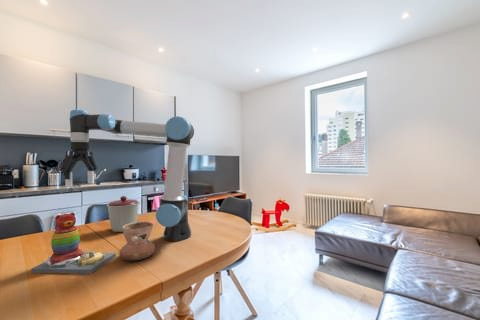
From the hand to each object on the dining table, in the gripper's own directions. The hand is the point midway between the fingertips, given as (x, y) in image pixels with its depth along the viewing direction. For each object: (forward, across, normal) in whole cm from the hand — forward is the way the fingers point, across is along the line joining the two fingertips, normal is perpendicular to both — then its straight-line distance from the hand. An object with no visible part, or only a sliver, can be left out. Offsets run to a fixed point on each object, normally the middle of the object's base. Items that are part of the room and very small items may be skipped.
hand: (80, 184), depth 107 cm
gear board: (+31, +16, +11) cm, 37 cm away
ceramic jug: (+32, +8, +33) cm, 47 cm away
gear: (+30, +16, +6) cm, 34 cm away
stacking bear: (+28, +16, +6) cm, 33 cm away
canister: (+31, -29, +4) cm, 43 cm away
